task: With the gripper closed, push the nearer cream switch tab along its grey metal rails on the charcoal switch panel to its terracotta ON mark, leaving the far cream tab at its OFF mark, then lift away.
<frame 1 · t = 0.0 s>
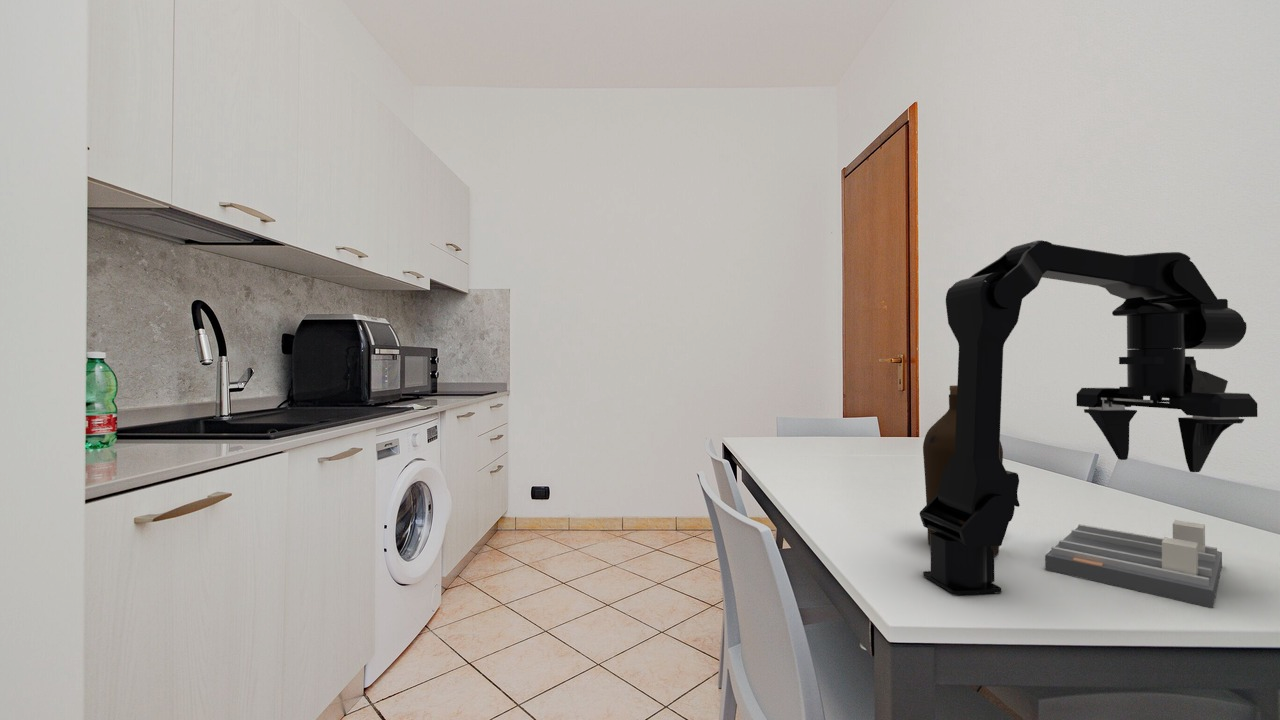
hand: (1156, 465, 74), 15 cm above the table, fingers open, 9 cm apart
small box: (974, 532, 94), on the table
switch panel: (1134, 567, 76), on the table
tab near: (1179, 557, 69), point 4 cm above the table, slide at 0.0 cm
tab far: (1188, 537, 77), point 4 cm above the table, slide at 0.0 cm
olive oil: (963, 549, 85), on the table
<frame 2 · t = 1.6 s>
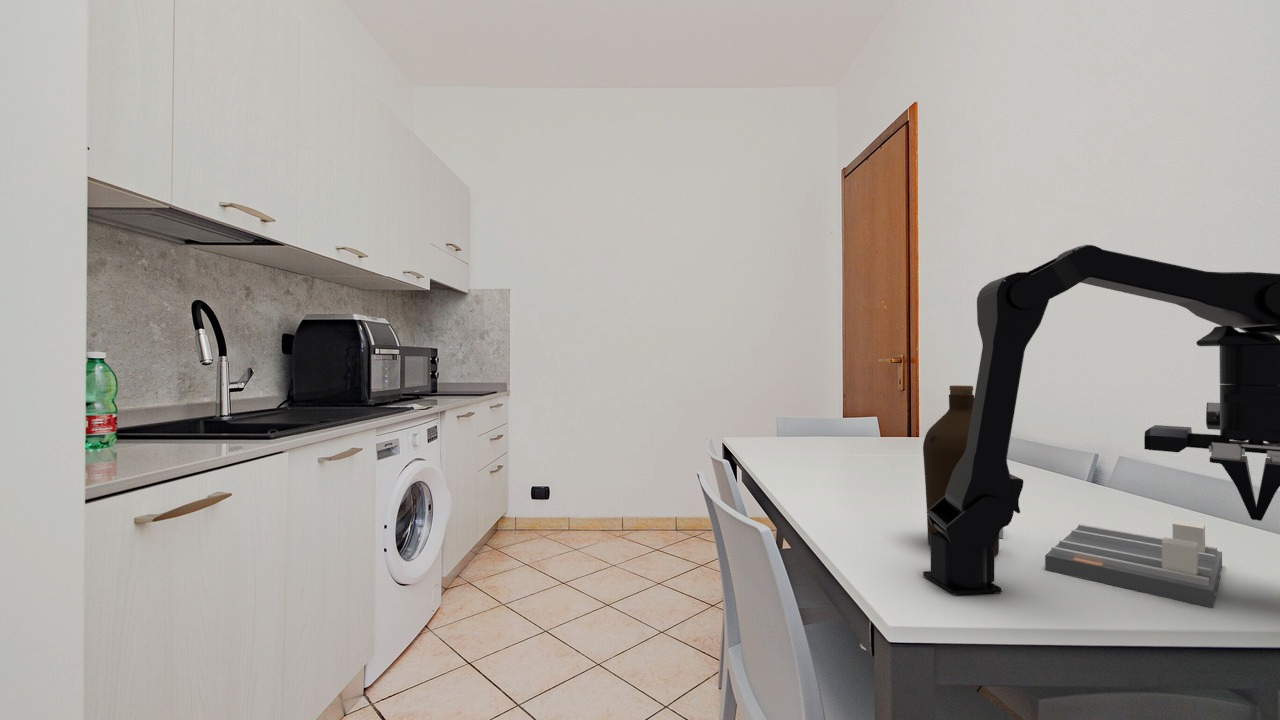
hand: (1256, 519, 64), 10 cm above the table, fingers closed
nothing on the table moved.
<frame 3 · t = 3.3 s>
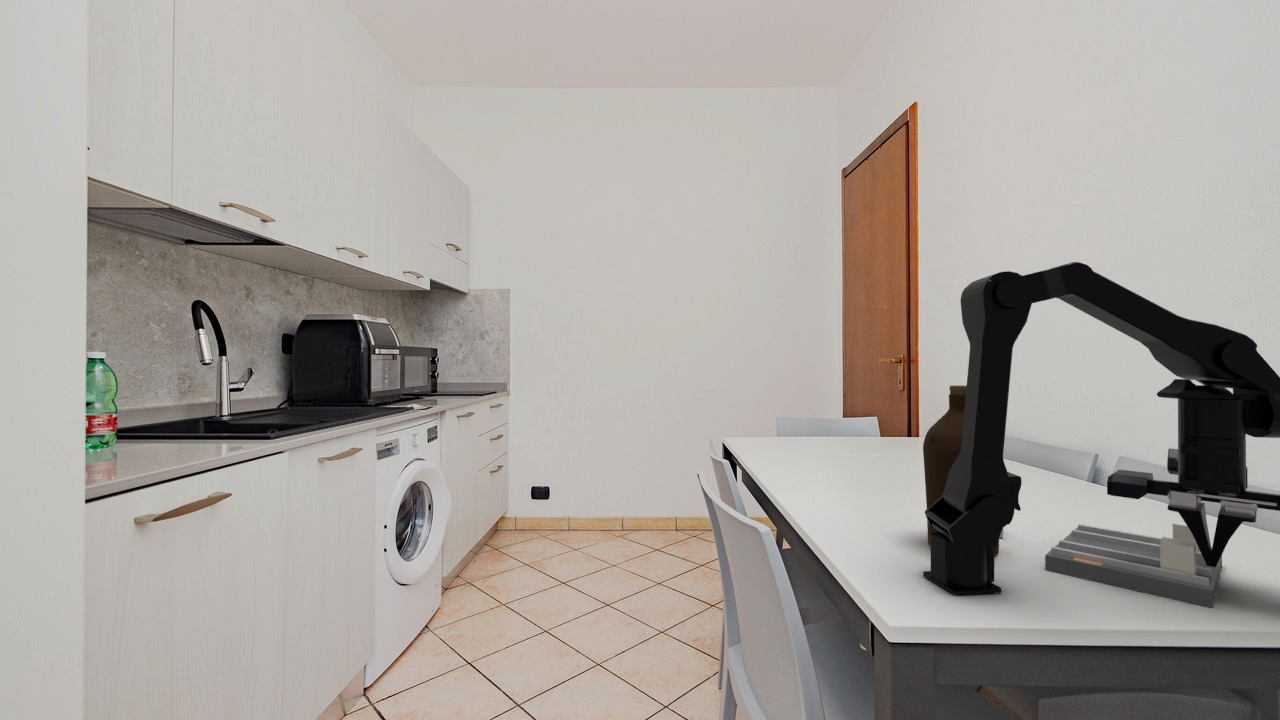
hand: (1211, 565, 67), 4 cm above the table, fingers closed
tab near: (1178, 557, 69), point 4 cm above the table, slide at 0.2 cm, touching gripper
everything else where it was.
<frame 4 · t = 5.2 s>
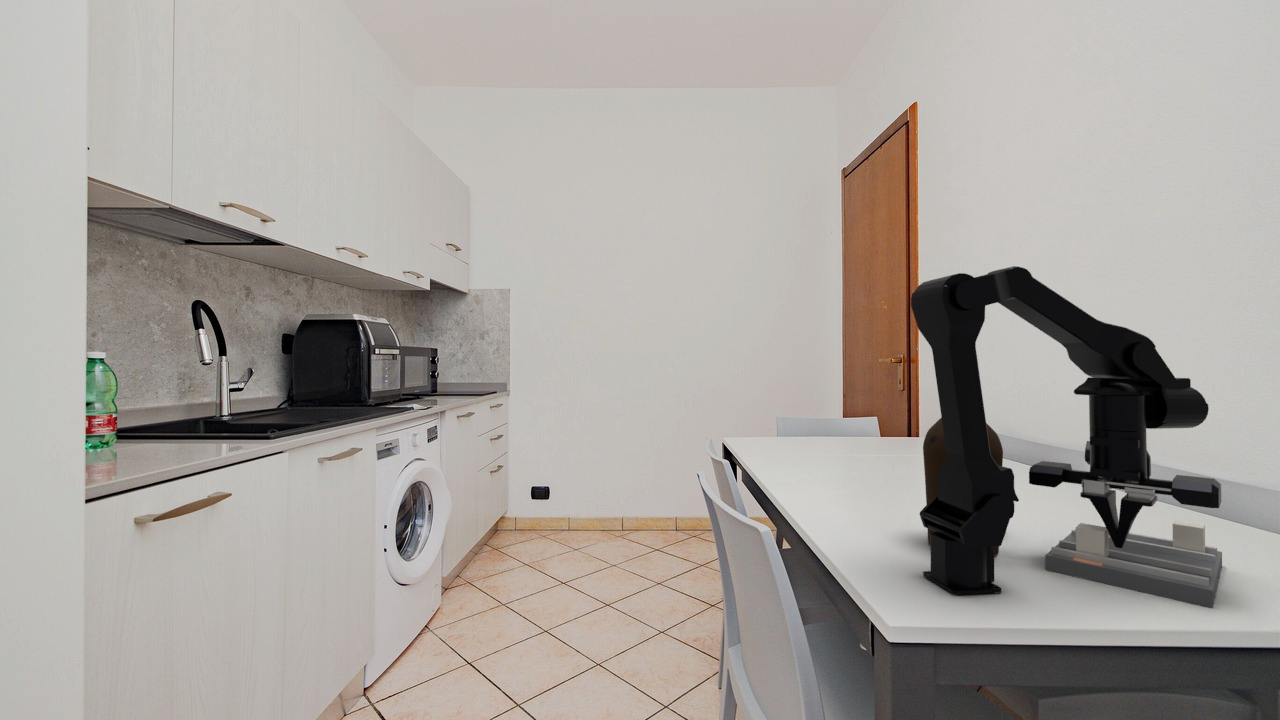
hand: (1119, 547, 73), 4 cm above the table, fingers closed
tab near: (1092, 540, 75), point 4 cm above the table, slide at 8.6 cm, touching gripper
everything else where it was.
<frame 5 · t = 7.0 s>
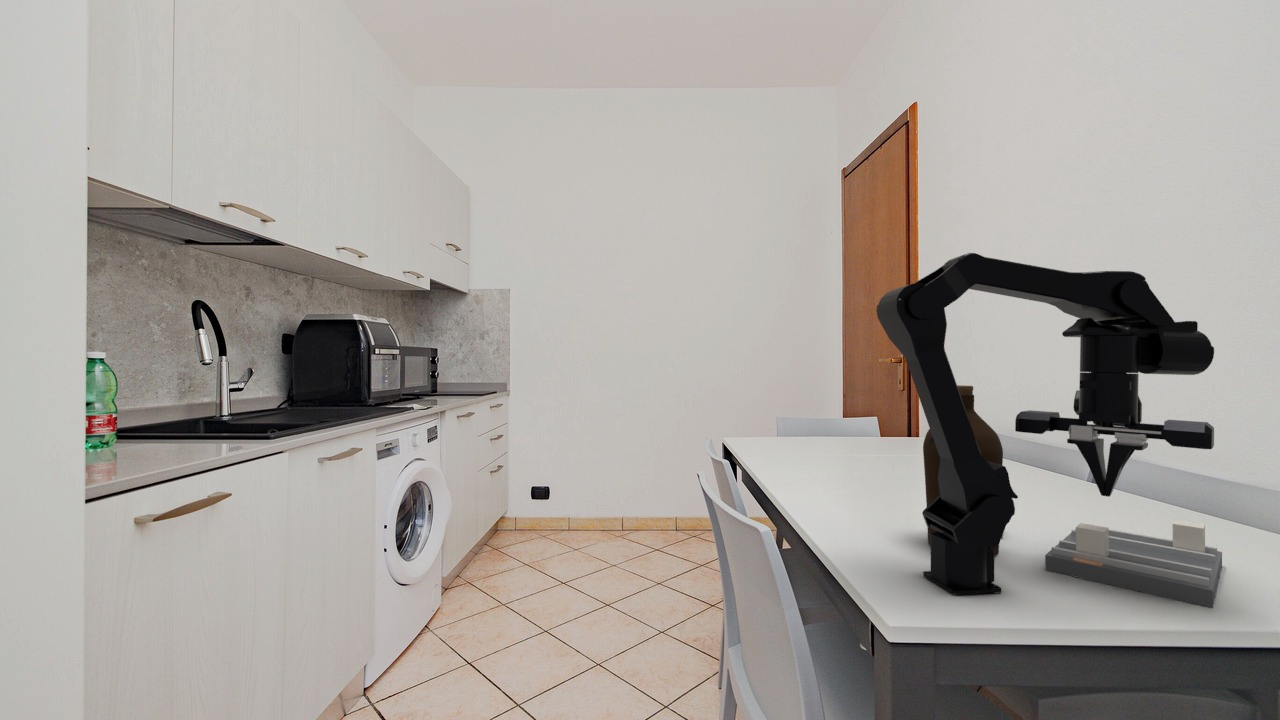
hand: (1106, 495, 70), 12 cm above the table, fingers closed
tab near: (1092, 540, 75), point 4 cm above the table, slide at 8.6 cm
everything else where it was.
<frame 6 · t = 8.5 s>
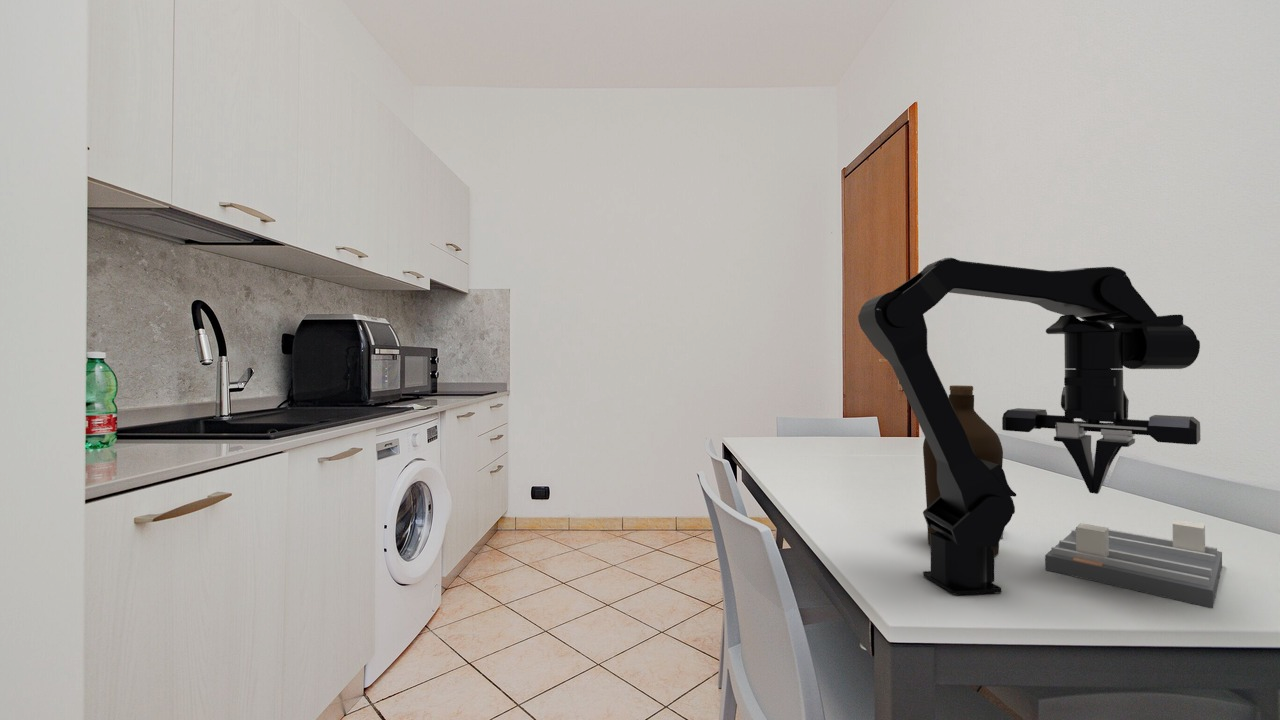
hand: (1094, 492, 70), 12 cm above the table, fingers closed
nothing on the table moved.
at the end: tab near slide at 8.6 cm; tab far slide at 0.0 cm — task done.
